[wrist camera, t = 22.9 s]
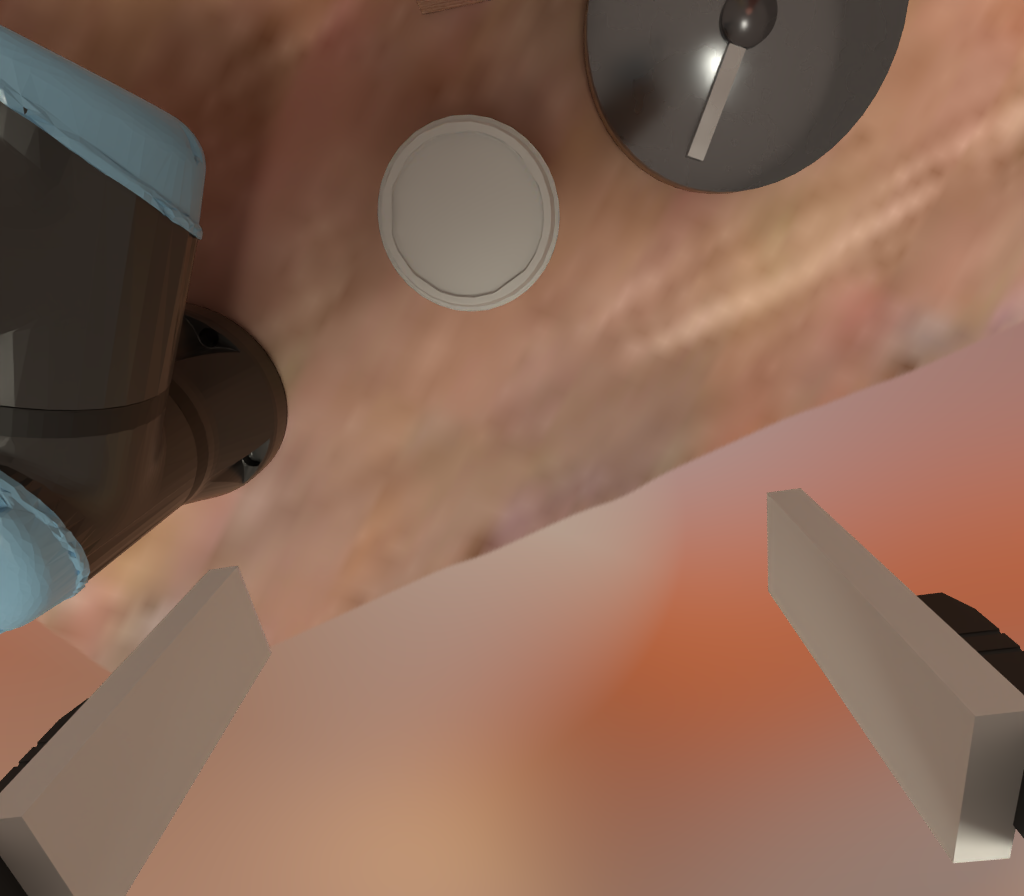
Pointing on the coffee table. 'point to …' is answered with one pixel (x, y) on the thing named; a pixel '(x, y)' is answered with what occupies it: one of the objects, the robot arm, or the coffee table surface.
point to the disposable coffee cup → (468, 212)
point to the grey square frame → (443, 4)
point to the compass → (735, 82)
